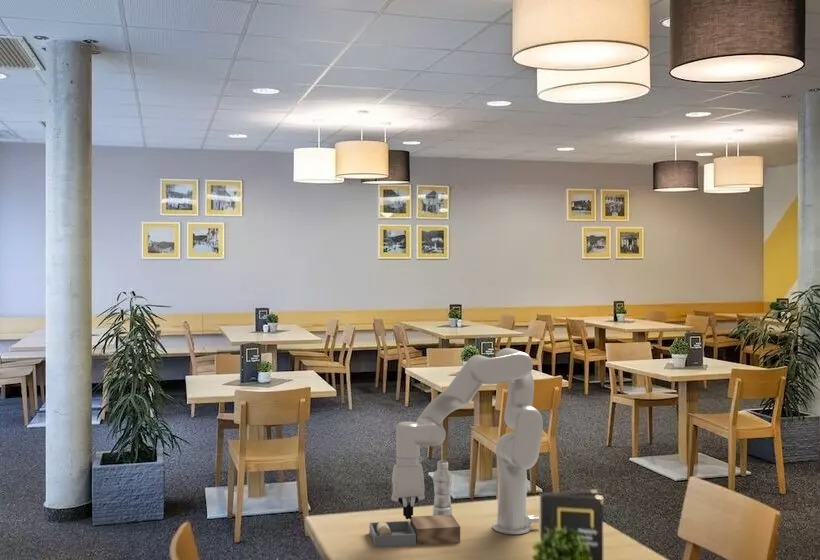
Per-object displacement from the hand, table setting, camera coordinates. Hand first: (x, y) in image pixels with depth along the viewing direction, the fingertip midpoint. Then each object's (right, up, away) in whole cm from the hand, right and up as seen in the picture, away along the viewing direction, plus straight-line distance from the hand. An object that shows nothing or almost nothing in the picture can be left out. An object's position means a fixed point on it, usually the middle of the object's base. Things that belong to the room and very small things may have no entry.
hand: (408, 517), depth 262 cm
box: (-5, -7, -1) cm, 8 cm away
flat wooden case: (+9, -7, +2) cm, 11 cm away
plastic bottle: (+12, -6, +18) cm, 23 cm away
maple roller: (-6, -3, -1) cm, 7 cm away
